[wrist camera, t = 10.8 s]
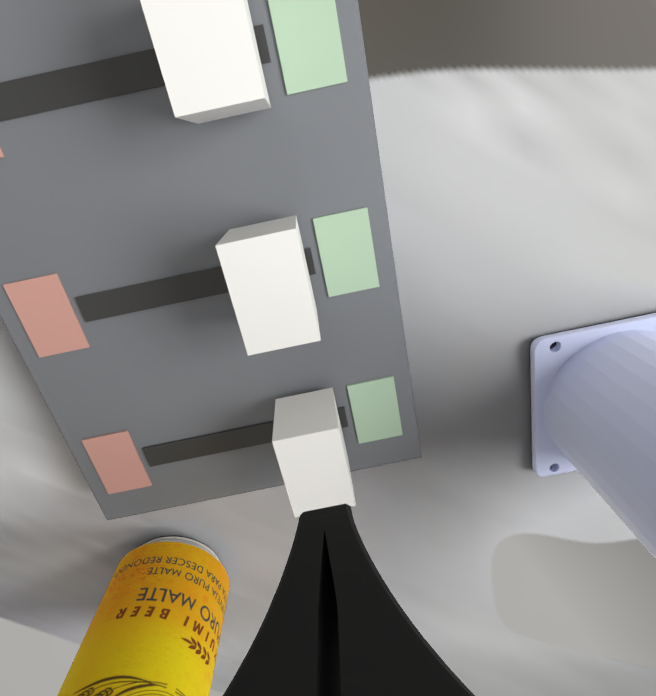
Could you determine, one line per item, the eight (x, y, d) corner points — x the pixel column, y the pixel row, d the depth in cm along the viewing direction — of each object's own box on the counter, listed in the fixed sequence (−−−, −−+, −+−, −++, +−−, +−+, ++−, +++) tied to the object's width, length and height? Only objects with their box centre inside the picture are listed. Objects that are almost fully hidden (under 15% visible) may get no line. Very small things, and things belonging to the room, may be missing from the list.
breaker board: (337, -70, 15) (343, -103, 13) (411, 432, 23) (421, 458, 21) (-104, 29, 15) (-162, 12, 13) (122, 491, 23) (106, 521, 21)
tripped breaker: (296, 215, 16) (295, 228, 13) (316, 310, 17) (320, 340, 15) (229, 229, 16) (215, 245, 13) (255, 323, 17) (248, 355, 15)
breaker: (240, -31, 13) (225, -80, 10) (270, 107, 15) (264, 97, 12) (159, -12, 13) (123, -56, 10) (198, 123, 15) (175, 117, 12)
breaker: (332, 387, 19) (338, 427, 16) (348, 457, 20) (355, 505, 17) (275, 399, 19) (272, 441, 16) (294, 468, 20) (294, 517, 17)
